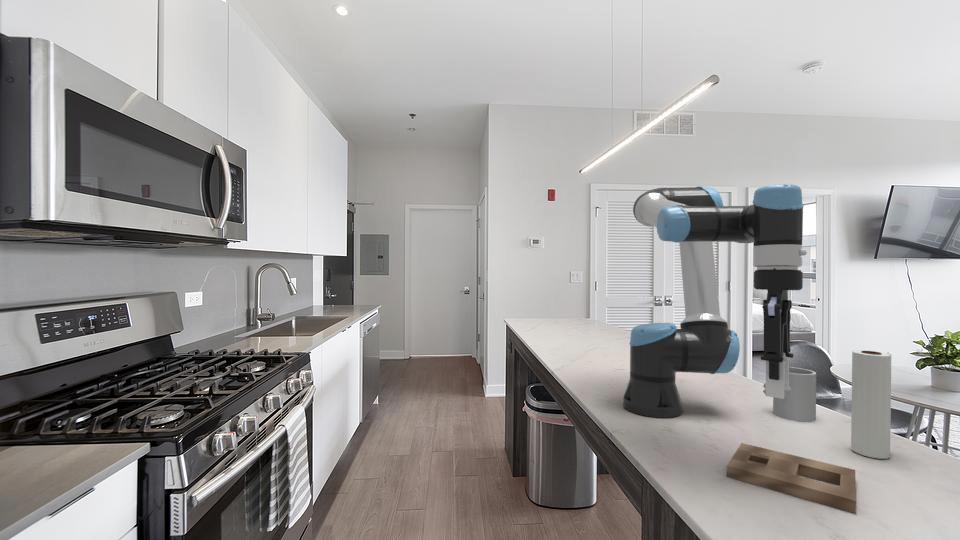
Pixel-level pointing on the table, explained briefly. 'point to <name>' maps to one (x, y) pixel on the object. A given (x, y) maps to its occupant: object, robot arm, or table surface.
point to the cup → (798, 397)
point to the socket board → (795, 476)
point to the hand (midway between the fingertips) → (777, 394)
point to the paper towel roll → (871, 403)
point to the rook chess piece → (786, 387)
